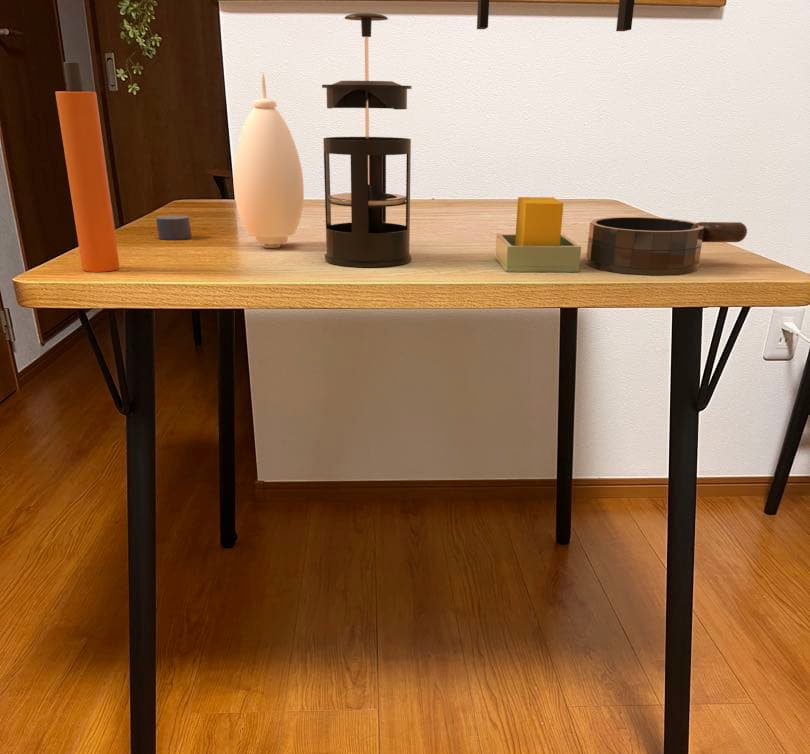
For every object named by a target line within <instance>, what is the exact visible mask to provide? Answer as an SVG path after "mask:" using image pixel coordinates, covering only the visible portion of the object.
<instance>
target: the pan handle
mask: <svg viewBox="0 0 810 754" xmlns="http://www.w3.org/2000/svg"><path fill="white" fill-rule="evenodd" d="M695 223H696V224H694V225H693V226H692V228H691V229H696V228H697V226H696V225H704V233H703V240H702V243H740V242H742V241H743V240H744V239H746V237H747V234H748V228H747V226H746V225H745V223H743V222H740V221H738V222H737V221H726V222H725V221H698V222H695Z"/></svg>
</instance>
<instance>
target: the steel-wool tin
mask: <svg viewBox="0 0 810 754" xmlns="http://www.w3.org/2000/svg"><path fill="white" fill-rule="evenodd" d="M155 221H156V229H157V238H158V239H159V240H163V241H164V240H165V241H180V240H181V241H182V240H189V239H191V238H192V227H191V218H190V216H189V215H185V214H167V215H157V216H156V217H155Z"/></svg>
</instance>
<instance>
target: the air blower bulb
mask: <svg viewBox="0 0 810 754" xmlns="http://www.w3.org/2000/svg"><path fill="white" fill-rule="evenodd" d="M260 78H261V81H260V82H261V98H257V99H254V100H253V101H252V104H251V105H252V107H253V109H251V111H250V112H249V114H248V115H247V118H246V119H245V121H244V124H243V126H242V128H241V129H242V130H241V131H240V135H239V139H238V141H237V142H238V143H237V146H236V151H235V156H234V164H233V165H234V166H233V192H234V193H233V194H234V200H235V206H236V209H237V213H238V215H239V218H240V221H241V223H242V225H243V227H244V228H245V230H246V232H247V234H248V235H249V236H251V237H255V240H256V243H257V244H261V245H264V246H263V247H264V248H267V249H278V248H281V245H282V244H286V243H288V237H289V236H290V237H291V236H293V235H295V233H296V231H297V229H298V226H299V224H300V222H301V218H302V214H303V208H304V198H305V190H304V189H305V186H304V177H303V176H304V175H303V170H302V169H303V168H302V163H301V159H300V156H299V152H298V149H297V146H296V143H295V140H294V137H293V135H292V133H291V131H290V129H289V126H288V124H287V123H286V121H285V119H284V118H283V116H282V115H281V113H280V112H279V111H278V109H276V108H277V101H275V100H274V99H269V98H267V88H266V87H267V86H266V79H265V74H264V72H262V73H261V77H260Z"/></svg>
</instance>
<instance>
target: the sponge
mask: <svg viewBox="0 0 810 754" xmlns="http://www.w3.org/2000/svg"><path fill="white" fill-rule="evenodd" d="M516 207H517V209H516V220H515V221H516V222H515V223H516V224H515V234H516V237H515V246H560V237H561V235H562V224H563V211H564V203H563V202H562V201H560V200H558V199H556V198H555V197H552V196H551V197H549V196H545V197H544V196H536V197H534V196H518V197H517V205H516Z"/></svg>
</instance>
